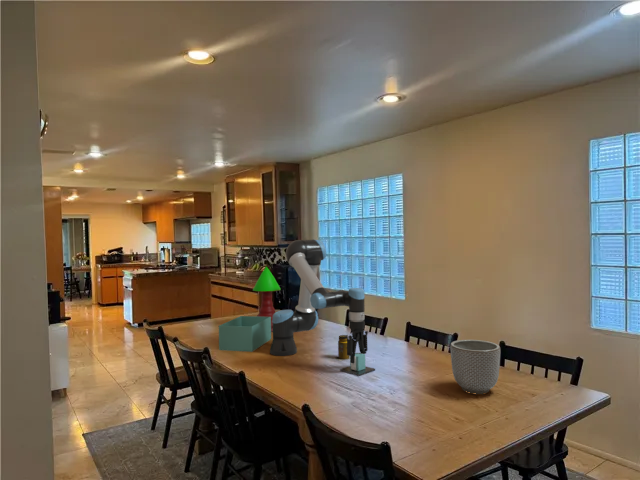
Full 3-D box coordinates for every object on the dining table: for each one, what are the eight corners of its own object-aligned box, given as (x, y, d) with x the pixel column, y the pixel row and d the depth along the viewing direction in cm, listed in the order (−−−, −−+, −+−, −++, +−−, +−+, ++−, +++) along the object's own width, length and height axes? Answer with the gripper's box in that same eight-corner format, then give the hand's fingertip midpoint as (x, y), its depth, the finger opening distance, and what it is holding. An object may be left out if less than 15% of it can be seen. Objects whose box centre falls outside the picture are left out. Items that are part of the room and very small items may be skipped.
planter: (495, 402, 172) (495, 353, 172) (445, 393, 182) (444, 347, 182) (504, 387, 189) (504, 342, 188) (457, 380, 199) (457, 337, 199)
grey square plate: (340, 370, 215) (340, 357, 215) (356, 365, 224) (356, 353, 224) (359, 376, 207) (359, 362, 207) (375, 370, 215) (375, 357, 215)
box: (219, 350, 259) (218, 325, 259) (241, 338, 290) (240, 315, 290) (252, 352, 254) (251, 326, 254) (271, 339, 285) (270, 316, 285)
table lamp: (257, 326, 325) (256, 265, 325) (284, 326, 322) (283, 265, 322) (249, 332, 306) (248, 267, 305) (277, 332, 303) (276, 266, 302)
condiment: (352, 358, 237) (352, 336, 236) (340, 361, 232) (339, 338, 232) (344, 355, 243) (344, 333, 243) (332, 358, 238) (331, 335, 238)
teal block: (350, 368, 215) (350, 354, 215) (357, 366, 219) (356, 352, 219) (358, 371, 211) (358, 356, 211) (365, 368, 215) (365, 354, 215)
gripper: (350, 324, 206) (351, 374, 206) (374, 318, 219) (375, 365, 219) (338, 322, 211) (339, 370, 211) (362, 316, 224) (363, 362, 224)
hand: (357, 368), depth 215 cm, fingers closed on teal block, 5 cm apart
